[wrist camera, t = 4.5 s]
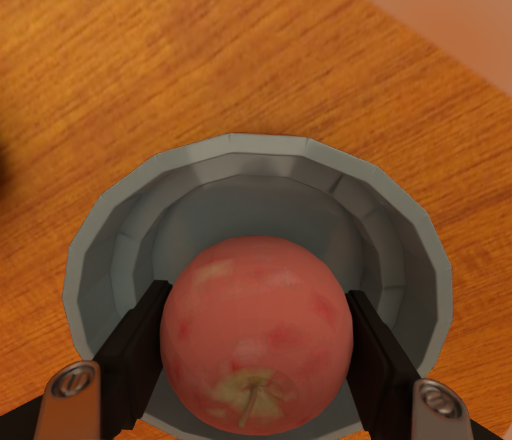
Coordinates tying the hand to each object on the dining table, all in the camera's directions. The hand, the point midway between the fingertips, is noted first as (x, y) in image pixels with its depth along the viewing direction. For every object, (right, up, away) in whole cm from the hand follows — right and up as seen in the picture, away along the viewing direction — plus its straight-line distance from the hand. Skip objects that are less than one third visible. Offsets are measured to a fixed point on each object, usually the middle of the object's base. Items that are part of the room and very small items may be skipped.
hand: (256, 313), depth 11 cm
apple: (0, +1, +3) cm, 3 cm away
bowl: (0, +1, +4) cm, 4 cm away
